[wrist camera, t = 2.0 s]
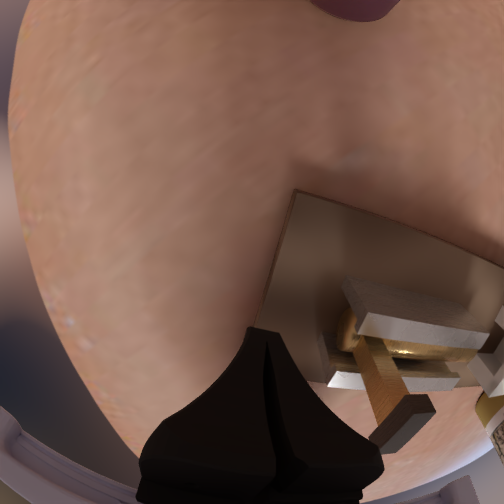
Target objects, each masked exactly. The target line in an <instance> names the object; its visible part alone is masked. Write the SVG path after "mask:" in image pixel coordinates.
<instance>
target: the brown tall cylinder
mask: <svg viewBox="0 0 504 504" xmlns="http://www.w3.org/2000/svg"><path fill="white" fill-rule="evenodd" d="M475 411H476V413H477V415H478V417H479V419H480V420H481V422H482V424H483V426H484V428H485V430H486V432H487V434H488V435H489V437H490V439H491V441H492V443H493V445H494V447H495V449H496V451H497V453H498V455H499V457H500V459H501V461H502V464H503V466H504V395H500V396H495V397H488V396H487V394H486V393H485V392H484V393H483V395H482V396H481V397H480V399H479V400H478V402H477V404H476V409H475Z"/></svg>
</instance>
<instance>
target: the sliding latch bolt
mask: <svg viewBox="0 0 504 504" xmlns="http://www.w3.org/2000/svg"><path fill="white" fill-rule="evenodd" d="M356 321H357V318H356V316H355V314H354V312H353V310H352V308H348V309H346V310H345V311H344V313H343V314H342V316H341V318H340V321H339V324H338V327H337V333H336V344H337V347H338V349H339V350H341V351H347V352H353V355H354V357H355V360H356V363H357V366H358V368H359V371H360V374H361V377H362V380H363V382H364V385H365V388H366V391H367V394H368V397H369V400H370V403H371V406H372V409H373V412H374V415H375V418H376V421H377V424H378V427H377V428H376V429H375V430H374V432H373V433H372V434H371V435H370V436H369V437H368V438H369V441H371V442H372V443H374V444H376V445H377V446H378V447H379V450H380V453H381V454H390V453H396V452H397V451H398V450H399V449H401V448H402V447H403V446H404V445H405V444H406V443H407V442H408V441H409V440H410V439H411V438H412V437H413V436H414V435H415V434H416V433H417V432H418V431H419V430H420V429H421V428H422V427H423V426H424V425H425V424H426V423H427V422H428V421H429V420H430V419H431V418H432V417H433V415H434V414H435V413H436V410H435V408H434V406H433V404H432V402H431V401H430V399H429V397H428V395H427V394H410V393H409V391H408V389H407V387H406V385H405V383H404V381H403V379H402V377H401V375H400V373H399V371H398V369H397V367H396V365H395V363H394V361H393V359H392V357H394V358H405V359H416V360H429V361H445V362H469V361H471V360H472V359H473V358H474V357H475V356H476V354H477V352H478V349H469V348H458V347H448V346H439V345H430V344H422V343H414V342H406V341H399V340H392V339H385V338H379V337H372V336H366V335H360V334H357V333H356V330H355V328H354V325H355V323H356Z"/></svg>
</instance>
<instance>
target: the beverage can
mask: <svg viewBox="0 0 504 504" xmlns="http://www.w3.org/2000/svg"><path fill="white" fill-rule="evenodd" d="M310 1H311V2H312V3H313V4H314V5H316V6H317V7H318V8H320V9H321V10H323V11H325V12H326V13H328V14H330V15H333V16H335V17H338V18H341V19H344V20H349V21H357V22H370V21H375V20H378V19H381V18H383V17H384V16H385V15H387V13H388V12H389V11H390V10H391V9H392V8H393V7H394V6H395V5H396V4H397V3H398V2H399V1H400V0H310Z"/></svg>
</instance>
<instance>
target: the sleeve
mask: <svg viewBox="0 0 504 504" xmlns="http://www.w3.org/2000/svg"><path fill="white" fill-rule="evenodd" d="M341 288H342V290H343V292H344V294H345V296H346V298H347V300H348V302H349V304H350V306H351V308H352V310H353V312H354V314H355V316H356V318H357V321H356V323H355V325H354V328H355V330H356V333H357V334H360V335H366V336H372V337H379V338H385V339H392V340H399V341H406V342H414V343H422V344H430V345H439V346H448V347H458V348H469V349H481V348H482V346H483V345H484V343H485V341H486V340H487V338H488V336H489V335H490V333H489V332H488V331H487V330H486V329H485V328H484V327H483V326H482V325H481V324H480V323H479V322H478V321H477V320H476V319H475V318H474V317H473V316H472V315H471V314H470V313H469V312H468V311H467V310H466V309H465V308H464V307H463V306H462V305H461V304H459V303H455V302H451V301H447V300H443V299H439V298H435V297H431V296H427V295H423V294H420V293H416V292H412V291H408V290H404V289H400V288H396V287H392V286H388V285H384V284H380V283H376V282H372V281H368V280H364V279H360V278H356V277H353V276H349V275H346V276H345V279H344V281H343V284H342V286H341ZM317 344H318V348H319V352H320V357H321V361H322V366H323V370H324V375H325V379H326V384H327V387H335V388H345V389H357V390H366V388H365V385H364V382H363V380H362V377H361V374H360V371H359V368H358V366H357V363H356V360H355V357H354V355H353V352H347V351H341V350H339V349H338V347H337V344H336V334H331V333H326V332H321V334H320V336H319V338H318V340H317ZM392 359H393V361H394V363H395V365H396V367H397V369H398V371H399V373H400V375H401V377H402V379H403V381H404V383H405V385H406V387H407V389H408V391H409V392H423V391H451V390H452V389H453V388H454V386H455V385H456V384H457V383H458V381H459V380H460V379H461V377H460V375H459V374H458V372H451V371H450V369H449V368H448V366H447V365H446V363H445V362H444V361H429V360H416V359H405V358H394V357H392Z"/></svg>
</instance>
